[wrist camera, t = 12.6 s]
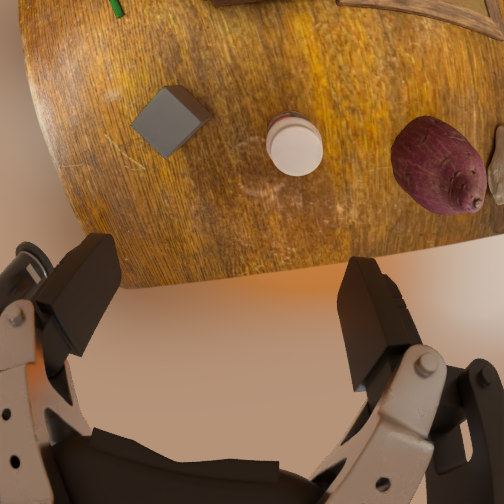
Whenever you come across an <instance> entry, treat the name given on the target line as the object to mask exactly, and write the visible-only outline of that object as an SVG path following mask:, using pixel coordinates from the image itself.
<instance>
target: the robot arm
mask: <svg viewBox="0 0 504 504" xmlns="http://www.w3.org/2000/svg"><path fill="white" fill-rule="evenodd" d="M120 282H121V268H120V264H119V260H118V256H117V251H116V247H115V242H114V239H113V237H112V235H111V234H104V233H90V234H89V235H88V236H87V237H86V238H85V239H84V240H83V241H82V243H81V244H80V245H79V246H77V247H76V248H74V249H73V250H71V251H70V252H68V253H67V254H66V255H65V257H64V258H63V259H62V260H61V261H60V262H59V265H57V266H56V267H55V268H54V269H53V272H51V273H50V274H49V275H48V272H47V270H46V268H45V266H44V264H43V263H42V261H41V260H40V259H39V258H38V257H37V256H36V255H35V254H34V253H32V252H31V251H28V250H22V251H21V252H20V253H19V254H18V255H17V257H16V258H15V259H14V260H13V261H12V262H11V263H10V264H9V265H8V266H7V267H6V268H5V270H4V271H3V272H2V273H1V274H0V504H409V503H410V502H411V500H412V498H413V496H414V494H415V492H416V490H417V488H418V486H419V484H420V482H421V480H422V478H423V476H424V474H425V476H426V489H427V504H504V389H503V386H502V383H501V380H500V378H499V375H498V373H497V371H496V369H495V368H494V367H493V365H492V364H491V363H489V362H488V361H486V360H484V359H475V360H473V361H472V362H471V363H470V364H469V366H468V367H467V368H466V369H462V368H457V367H452V366H448V365H446V364H445V362H444V359H443V358H442V356H441V355H440V354H439V353H438V352H437V351H436V350H435V349H433V348H432V347H429V346H427V345H423V343H422V341H421V338H420V336H419V334H418V331H417V329H416V326H415V324H414V322H413V319H412V317H411V315H410V313H409V311H408V309H406V307H407V306H406V304H405V302H404V300H403V299H402V295H401V293H400V291H399V289H398V287H397V285H396V284H395V283H394V282H393V281H392V280H391V279H390V278H389V277H388V276H387V275H386V274H382V273H381V271H380V268H379V266H378V264H377V262H376V260H375V259H374V258H365V257H355V256H353V257H351V258H350V260H349V263H348V266H347V269H346V272H345V275H344V278H343V280H342V283H341V286H340V289H339V292H338V297H337V310H338V315H339V319H340V324H341V327H342V333H343V338H344V342H345V347H346V352H347V357H348V362H349V368H350V373H351V379H352V384H353V390H354V392H361V391H366V392H367V397H368V399H367V400H366V401H365V402H364V404H363V405H362V407H361V409H360V411H359V412H358V414H357V415H356V417H355V419H354V420H353V422H352V424H351V425H350V427H349V428H348V430H347V431H346V433H345V434H344V436H343V437H342V439H341V440H340V442H339V443H338V444H337V446H336V447H335V449H334V450H333V451H332V452H331V453H330V454H329V455H328V456H327V457H326V458H325V460H324V461H323V462H322V463H321V464H320V465H319V467H318V468H317V469H316V470H315V471H314V473H313V474H312V475H311V476H310V477H309V479H306V478H304V477H302V476H299V475H297V474H295V473H292V472H289V471H286V470H281V469H279V461H254V460H240V459H239V460H238V459H223V460H213V461H201V462H183V463H182V462H176V461H173V460H171V459H168V458H167V457H164V456H162V455H160V454H158V453H156V452H154V451H152V450H150V449H149V448H147V447H144V446H143V445H141V444H139V443H137V442H136V441H134V440H131V439H127V438H124V437H121V436H118V435H115V434H112V433H109V432H106V431H103V430H100V429H98V428H95V427H94V428H93V431H91V429H90V427H89V425H88V423H87V421H86V420H85V418H84V417H83V415H82V413H81V411H80V408H79V404H78V401H77V397H76V393H75V389H74V385H73V380H72V376H71V371H70V366H69V363H68V361H67V359H66V358H67V356H68V354H69V353H70V354H73V355H77V356H79V357H82V355H83V353H84V351H85V349H86V347H87V345H88V343H89V341H90V339H91V337H92V335H93V333H94V331H95V329H96V327H97V325H98V323H99V321H100V320H101V318H102V316H103V314H104V312H105V310H106V309H107V307H108V305H109V303H110V301H111V300H112V298H113V296H114V294H115V293H116V291H117V289H118V287H119V285H120ZM466 419H467V423H468V427H469V431H470V436H471V441H472V447H473V454H472V457H471V459H470V461H469V462H467V460H466V456H465V450H464V444H463V439H462V434H461V429H460V424H461V423H462V422H464V421H465V420H466Z"/></svg>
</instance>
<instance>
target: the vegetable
mask: <svg viewBox="0 0 504 504" xmlns="http://www.w3.org/2000/svg"><path fill="white" fill-rule="evenodd" d="M391 151H392V153H391V160H392V166H393V171H394V176H395V178H396V180H397V182H398V184H399V185H400V186H401V187H402V188H403V189H404V190H405V191H406V192H407V193H408V194H409V195H410V196H411V197H412V198H413V199H414V200H415V201H416V202H417V203H418V204H420V205H421V206H422V207H424V208H426V209H427V210H429V211H432V212H434V213H438V214H444V215H454V214H462V213H465V212H467V213H475V212H477V211H478V210H480V208H481V207H482V205H483V202H484V196H485V192H486V188H487V176H486V169H485V167H484V164H483V161H482V159H481V157H480V155H479V154H478V153H477V151H476V150H475V149H474V148H473V147H472V146H471V144H470V143H469V142H468V141H467V139H466V138H465V137H464V136H463V135H462V134H460V133H459V132H458V131H457V130H456V129H454V128H453V127H451V126H450V125H448V124H447V123H445V122H443V121H441V120H439V119H436V118H433V117H430V116H422V117H419V118H416V119H415V120H413V121H412V122H411V123H410V124H409V125H408V126H407V127H406V128H405V129H404V130H403V131H402V132H401V133H400V135H399V136H398V137H397V138H396V140H395V143H394V145H393V146H392V148H391Z"/></svg>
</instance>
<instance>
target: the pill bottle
mask: <svg viewBox="0 0 504 504" xmlns="http://www.w3.org/2000/svg"><path fill="white" fill-rule="evenodd" d="M266 148H267V152H268V154H269V156H270V158H271V159H272V161H273V163H274V164H275V166H276V167H277V168H278V169H279V170H280V171H282V172H283V173H286V174H288V175H292V176H303V175H306V174H308V173H310V172H312V171H313V170H315V169H316V168H317V166H318V165H319V164H320V162H321V159H322V156H323V147H322V139H321V135H320V133H319V131H318V130H317V128H316V127H315V126H314V125H313V124H312V123H311V121H310V120H309V119H308V118H307V117H306V116H304V115H303V114H301V113H299V112H296V111H291V110H289V111H282V112H280V113H278V114H276V115H275V116H274V117H273V118H272V119H271V120H270V122H269V124H268V127H267V135H266Z"/></svg>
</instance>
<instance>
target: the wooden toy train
mask: <svg viewBox="0 0 504 504" xmlns="http://www.w3.org/2000/svg"><path fill="white" fill-rule="evenodd" d="M205 1H207V0H205ZM254 1H263V0H210V2H211V3H212V4H213V5H214V6H215V8H216V7H222V6H227V5H233V4H239V3H246V2H254Z"/></svg>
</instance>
